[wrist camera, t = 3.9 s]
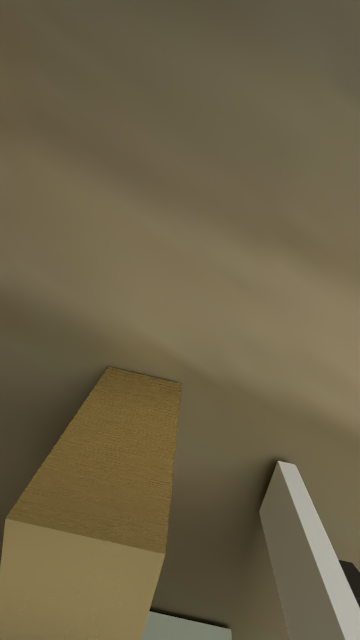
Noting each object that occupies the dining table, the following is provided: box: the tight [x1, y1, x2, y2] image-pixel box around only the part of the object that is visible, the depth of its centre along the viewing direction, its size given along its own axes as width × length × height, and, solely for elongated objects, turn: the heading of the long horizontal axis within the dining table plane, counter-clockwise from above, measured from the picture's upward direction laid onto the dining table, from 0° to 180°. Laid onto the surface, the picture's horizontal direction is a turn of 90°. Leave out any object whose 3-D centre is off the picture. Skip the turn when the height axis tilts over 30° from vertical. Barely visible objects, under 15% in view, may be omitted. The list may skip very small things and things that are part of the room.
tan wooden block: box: [0, 367, 181, 640], centre depth 10 cm, size 7×3×7 cm, turn 167°
